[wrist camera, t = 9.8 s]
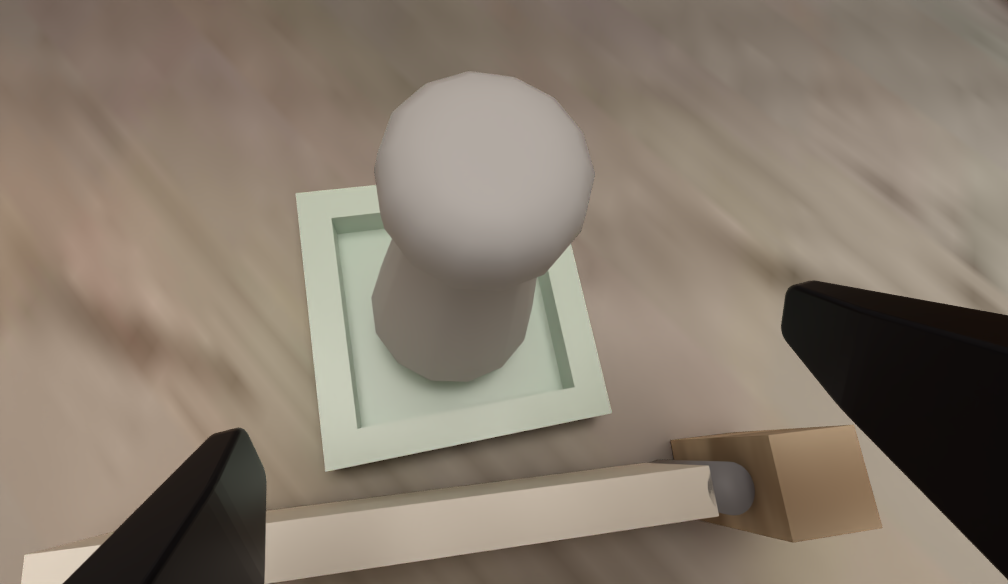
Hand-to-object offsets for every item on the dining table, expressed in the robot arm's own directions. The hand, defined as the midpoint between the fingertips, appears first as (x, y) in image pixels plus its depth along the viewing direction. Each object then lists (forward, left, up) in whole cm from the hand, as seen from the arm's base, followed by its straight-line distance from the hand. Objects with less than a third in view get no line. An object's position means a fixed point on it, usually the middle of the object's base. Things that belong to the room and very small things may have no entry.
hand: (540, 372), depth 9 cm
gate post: (-3, -10, -14) cm, 17 cm away
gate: (-3, +2, -13) cm, 14 cm away
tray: (+4, 0, -14) cm, 14 cm away
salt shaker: (+4, 0, -13) cm, 14 cm away
